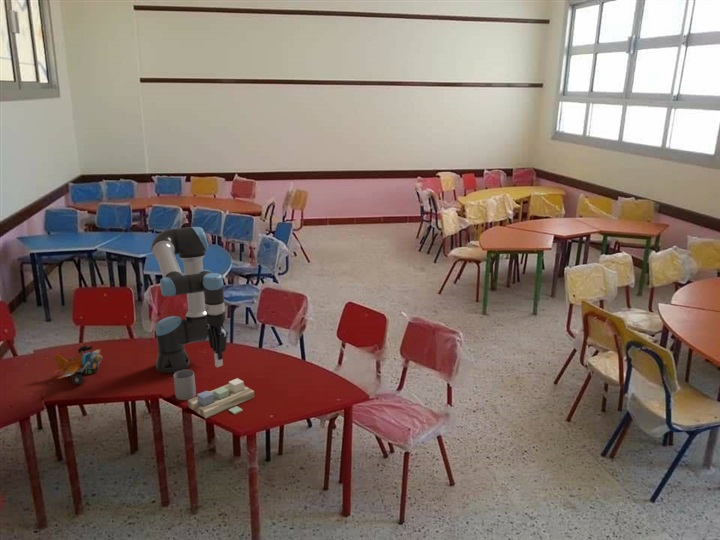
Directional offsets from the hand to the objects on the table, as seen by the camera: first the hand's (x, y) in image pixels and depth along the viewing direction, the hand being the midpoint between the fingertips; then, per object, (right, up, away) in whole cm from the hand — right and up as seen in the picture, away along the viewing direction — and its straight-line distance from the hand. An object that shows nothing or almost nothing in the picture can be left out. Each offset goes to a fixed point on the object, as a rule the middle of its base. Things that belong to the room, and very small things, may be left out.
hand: (219, 365), depth 237 cm
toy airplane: (-69, -10, +25) cm, 74 cm away
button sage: (0, -15, +4) cm, 16 cm away
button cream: (+5, -12, +9) cm, 16 cm away
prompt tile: (+7, -18, -2) cm, 20 cm away
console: (0, -16, +5) cm, 17 cm away
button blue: (-5, -16, -1) cm, 16 cm away
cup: (-17, -14, +10) cm, 24 cm away
